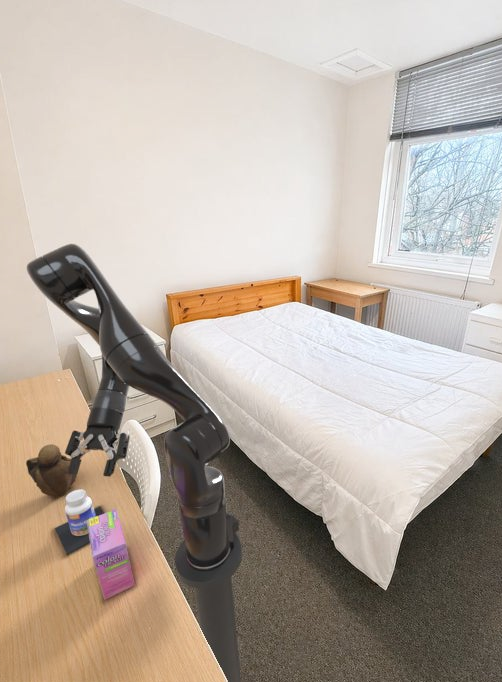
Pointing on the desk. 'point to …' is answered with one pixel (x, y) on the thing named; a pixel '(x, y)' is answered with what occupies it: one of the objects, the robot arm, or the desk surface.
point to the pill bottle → (79, 511)
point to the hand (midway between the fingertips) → (89, 475)
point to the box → (110, 553)
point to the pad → (72, 541)
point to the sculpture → (51, 471)
